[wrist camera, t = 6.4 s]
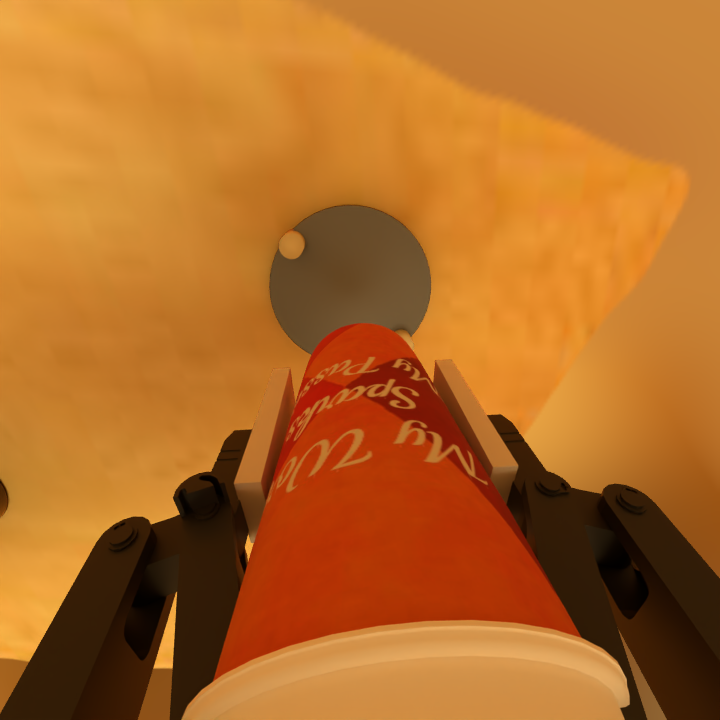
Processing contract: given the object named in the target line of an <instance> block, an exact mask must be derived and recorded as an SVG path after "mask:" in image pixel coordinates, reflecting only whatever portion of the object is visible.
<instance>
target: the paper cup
mask: <svg viewBox="0 0 720 720" xmlns="http://www.w3.org/2000/svg"><path fill="white" fill-rule="evenodd" d="M628 705H630V696H629V691H628V688H627V679H626V677H625V675H624V673H623V671H622V669H621V667H620V666H619V664H618V662H617V661H616V660H615V659H614V658H613V657H612V656H611V655H609V654H608V653H607V652H606V651H605V650H604V649H602V648H600V647H598V646H596V645H594V644H592V643H590V642H588V641H587V640H585V639H583V638H582V637H581V636H580V634H579V632H578V630H577V629H576V627H575V625H574V623H573V622H572V620H571V618H570V616H569V614H568V613H567V611H566V609H565V607H564V606H563V604H562V602H561V600H560V599H559V597H558V595H557V593H556V591H555V590H554V588H553V586H552V584H551V583H550V581H549V579H548V577H547V575H546V574H545V572H544V570H543V568H542V567H541V565H540V563H539V561H538V560H537V558H536V556H535V554H534V552H533V551H532V549H531V547H530V545H529V544H528V542H527V540H526V538H525V537H524V535H523V533H522V531H521V529H520V528H519V526H518V524H517V522H516V521H515V519H514V517H513V515H512V514H511V512H510V510H509V508H508V507H507V505H506V503H505V502H504V500H503V498H502V497H501V495H500V494H499V492H498V490H497V489H496V487H495V486H494V484H493V482H492V481H491V479H490V477H489V476H488V474H487V473H486V471H485V469H484V468H483V466H482V464H481V463H480V461H479V460H478V458H477V456H476V455H475V453H474V452H473V450H472V448H471V447H470V445H469V443H468V442H467V440H466V439H465V437H464V435H463V434H462V432H461V430H460V429H459V427H458V425H457V424H456V422H455V420H454V419H453V417H452V415H451V413H450V412H449V410H448V408H447V407H446V405H445V403H444V402H443V400H442V398H441V396H440V395H439V393H438V391H437V390H436V388H435V386H434V385H433V383H432V381H431V380H430V378H429V376H428V374H427V373H426V371H425V369H424V368H423V366H422V364H421V363H420V361H419V360H418V358H417V357H416V355H415V353H414V352H413V350H412V349H411V348H410V346H409V345H408V344H407V342H406V341H405V340H404V339H403V338H402V337H401V336H400V335H398V334H397V333H396V332H394V331H392V330H390V329H389V328H386V327H384V326H381V325H377V324H371V323H357V324H351V325H347V326H344V327H341V328H339V329H337V330H335V331H333V332H331V333H330V334H328V335H327V336H326V337H325V338H324V339H323V340H322V341H321V342H320V343H319V344H318V345H317V347H316V348H315V350H314V351H313V353H312V355H311V358H310V360H309V362H308V365H307V368H306V371H305V374H304V377H303V380H302V383H301V387H300V390H299V393H298V396H297V400H296V403H295V406H294V409H293V413H292V416H291V420H290V423H289V426H288V430H287V433H286V436H285V440H284V443H283V446H282V450H281V453H280V456H279V460H278V463H277V466H276V470H275V473H274V477H273V480H272V483H271V487H270V490H269V494H268V497H267V500H266V504H265V507H264V511H263V514H262V517H261V521H260V524H259V528H258V531H257V534H256V538H255V541H254V544H253V548H252V551H251V555H250V558H249V561H248V565H247V568H246V572H245V575H244V578H243V582H242V585H241V588H240V592H239V595H238V599H237V602H236V605H235V609H234V612H233V616H232V619H231V622H230V626H229V629H228V632H227V636H226V639H225V643H224V646H223V649H222V653H221V656H220V659H219V663H218V666H217V670H216V673H215V676H214V680H213V682H212V683H211V684H209V685H208V686H207V687H205V688H204V689H202V690H201V691H200V692H199V693H198V695H197V696H196V697H195V698H194V699H193V700H192V701H191V702H190V703H189V705H188V706H187V708H186V710H185V712H184V715H183V717H182V719H181V720H625V719H624V717H623V714H622V712H621V709H620V708H622V707H626V706H628Z"/></svg>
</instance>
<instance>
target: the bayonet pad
mask: <svg viewBox="0 0 720 720" xmlns="http://www.w3.org/2000/svg"><path fill="white" fill-rule="evenodd" d="M269 288H270V298H271V302H272V307H273V310H274V313H275V315H276V318H277V320H278V321H279V323H280V325H281V327H282V328H283V330H284V331H285V333H286V334H287V335H288V336H289V337H290V338H291V340H292V341H293V342H294V343H296V344H297V345H298V346H299V347H300V348H302V349H303V350H305V351H306V352H308V353H309V354H311V355H312V353H313V351H314V350H315V348H316V347H317V345H318V344H319V343H320V342H321V341H322V340H323V339H324V338H325V337H326V336H327V335H328V334H330V333H331V332H333V331H335V330H337V329H339V328H341V327H344V326H347V325H351V324H357V323H371V324H377V325H381V326H384V327H386V328H389V329H390V330H392V331H394V332H396V333H397V334H398V335H400V336H401V337H402V338H403V339H404V340H405V341H406V342H407V344H408V345H409V346H410V348H411V349H412V350H414V343H413V341H412V339H411V336H412V335H413V334H414V333H415V331H416V330H417V329H418V327H419V325H420V324H421V322H422V320H423V318H424V316H425V313H426V311H427V308H428V304H429V300H430V293H431V277H430V269H429V266H428V262H427V259H426V256H425V254H424V251H423V249H422V248H421V246H420V244H419V243H418V241H417V239H416V238H415V237H414V236H413V234H412V233H411V232H410V231H409V230H408V229H407V228H406V227H405V226H404V225H403V224H401V223H400V222H399V221H397V220H396V219H394V218H393V217H391V216H389V215H387V214H386V213H384V212H382V211H379V210H376V209H373V208H370V207H364V206H357V205H344V206H335V207H332V208H328V209H324V210H322V211H319V212H317V213H314V214H313V215H311V216H309V217H308V218H306V219H304V220H303V221H302V222H301V223H299V224H298V225H297V226H296V227H295V228H294V229H292V230H289V231H288V232H287V233H286V234H285V235H284V236H283V237H282V238H281V239H280V241H279V249H278V251H277V253H276V255H275V258H274V261H273V264H272V268H271V273H270V286H269Z"/></svg>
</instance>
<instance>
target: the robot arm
mask: <svg viewBox="0 0 720 720" xmlns="http://www.w3.org/2000/svg"><path fill="white" fill-rule="evenodd" d="M433 385H434V386H435V388H436V390H437V391H438V393H439V395H440V396H441V398H442V400H443V402H444V403H445V405H446V407H447V408H448V410H449V412H450V413H451V415H452V417H453V419H454V420H455V422H456V424H457V425H458V427H459V429H460V430H461V432H462V434H463V435H464V437H465V439H466V440H467V442H468V443H469V445H470V447H471V448H472V450H473V452H474V453H475V455H476V456H477V458H478V460H479V461H480V463H481V464H482V466H483V468H484V469H485V471H486V473H487V474H488V476H489V477H490V479H491V481H492V482H493V484H494V486H495V487H496V489H497V490H498V492H499V494H500V495H501V497H502V498H503V500H504V502H505V503H506V505H507V507H508V508H509V510H510V512H511V514H512V515H513V517H514V519H515V521H516V522H517V524H518V526H519V528H520V529H521V531H522V533H523V535H524V537H525V538H526V540H527V542H528V544H529V545H530V547H531V549H532V551H533V552H534V554H535V556H536V558H537V560H538V561H539V563H540V565H541V567H542V568H543V570H544V572H545V574H546V575H547V577H548V579H549V581H550V583H551V584H552V586H553V588H554V590H555V591H556V593H557V595H558V597H559V599H560V600H561V602H562V604H563V606H564V607H565V609H566V611H567V613H568V614H569V616H570V618H571V620H572V622H573V623H574V625H575V627H576V629H577V630H578V632H579V634H580V636H581V637H582V638H583V639H585V640H587V641H588V642H590V643H592V644H594V645H596V646H598V647H600V648H602V649H604V650H605V651H606V652H607V653H608V654H609V655H611V656H612V657H613V658H614V659H615V660H616V661H617V662H618V664H619V666H620V667H621V669H622V671H623V673H624V675H625V677H626V679H627V688H628V691H629V696H630V705H628V706H626V707H622V708H620V709H621V712H622V714H623V717H624V719H625V720H647V718H646V714H645V711H644V708H643V705H642V702H641V699H640V696H639V693H638V689H637V686H636V683H635V680H634V677H633V674H632V671H631V668H630V665H629V662H628V658H627V655H626V652H625V649H624V646H623V643H622V640H621V637H620V634H619V631H620V633H621V634H622V636H623V638H624V640H625V642H626V644H627V646H628V648H629V649H630V651H631V653H632V655H633V657H634V659H635V660H636V662H637V664H638V666H639V668H640V670H641V672H642V674H643V675H644V677H645V679H646V681H647V683H648V685H649V687H650V689H651V690H652V692H653V694H654V696H655V698H656V700H657V702H658V704H659V705H660V707H661V709H662V711H663V713H664V714H665V717H666V718H667V720H720V578H719V577H718V576H717V575H716V574H715V572H714V571H713V570H712V569H711V568H710V567H709V566H708V564H707V563H706V562H705V561H704V560H703V559H702V557H701V556H700V555H699V554H698V553H697V551H696V550H695V549H694V548H693V547H692V546H691V544H690V543H689V542H688V541H687V540H686V539H685V537H683V535H682V534H681V533H680V532H679V531H678V529H677V528H676V527H675V526H674V525H673V523H672V522H671V521H670V520H669V519H668V518H667V517H666V515H665V514H664V513H663V512H662V511H661V509H660V508H659V507H658V506H657V505H656V504H655V503H654V502H653V501H652V500H651V499H650V498H649V497H648V496H647V495H645V494H644V493H642V492H640V491H638V490H637V489H634V488H632V487H629V486H627V485H621V484H611V485H608V486H607V487H605V488H604V489H603V491H602V494H599V493H594V492H588V491H583V490H578V489H575V488H571V486H570V485H569V484H568V483H567V482H566V481H565V480H564V479H563V478H561V477H560V476H558V475H556V474H554V473H551V472H548V471H546V469H545V468H544V467H543V465H542V464H541V462H540V461H539V460H538V458H537V457H536V455H535V454H534V453H533V451H532V450H531V448H530V447H529V446H528V444H527V443H526V442H525V441H524V439H523V437H522V436H521V434H519V432H518V430H517V429H516V427H515V426H514V425H513V423H512V422H511V421H509V420H508V419H506V418H505V417H504V416H502V415H501V414H500V415H486V413H485V412H484V410H483V409H482V407H481V405H480V404H479V402H478V401H477V399H476V397H475V396H474V394H473V393H472V391H471V389H470V388H469V386H468V385H467V383H466V382H465V380H464V378H463V377H462V375H461V374H460V372H459V370H458V369H457V367H456V366H455V364H454V363H453V361H452V359H450V360H435V371H434V381H433ZM294 406H295V398H294V391H293V384H292V377H291V370H290V368H273V371H272V374H271V377H270V380H269V383H268V386H267V388H266V391H265V394H264V397H263V400H262V403H261V406H260V409H259V412H258V415H257V418H256V420H255V423H254V426H253V429H252V430H235V431H234V432H233V433H232V434H231V435H230V436H229V437H228V438H227V439H226V440H225V441H224V444H223V446H222V448H221V452H220V453H219V455H218V458H217V462H215V464H214V467H213V469H212V471H211V472H204V473H199V474H196V475H194V476H192V477H190V478H188V479H187V480H185V481H184V482H183V483H181V485H180V486H179V487H178V488H177V489H176V491H175V494H174V497H173V499H174V502H175V504H176V506H177V508H178V511H179V513H180V515H177V516H175V517H173V518H170V519H167V520H164V521H161V522H158V523H155V524H152V525H151V524H150V522H149V520H148V519H146V518H144V517H131V518H127V519H124V520H122V521H120V522H118V523H116V524H114V525H113V526H111V527H110V528H109V529H108V530H107V531H105V532H104V533H103V534H102V536H101V537H100V538H99V540H98V541H97V542H96V544H95V546H94V548H93V549H92V551H91V553H90V555H89V557H88V558H87V560H86V562H85V564H84V565H83V567H82V569H81V571H80V573H79V574H78V576H77V578H76V580H75V582H74V583H73V585H72V587H71V589H70V590H69V592H68V594H67V596H66V598H65V599H64V601H63V603H62V605H61V606H60V608H59V610H58V612H57V614H56V615H55V617H54V619H53V621H52V622H51V624H50V626H49V628H48V630H47V631H46V633H45V635H44V637H43V639H42V640H41V642H40V644H39V646H38V647H37V649H36V651H35V653H34V655H33V656H32V658H31V660H30V662H29V663H28V665H27V667H26V669H25V671H24V672H23V674H22V676H21V678H20V680H19V681H18V683H17V685H16V687H15V688H14V690H13V692H12V694H11V696H10V697H9V699H8V701H7V703H6V704H5V706H4V708H3V710H2V712H1V714H0V720H138V717H139V714H140V710H141V707H142V704H143V700H144V697H145V694H146V690H147V687H148V684H149V680H150V677H151V674H152V670H153V667H154V664H155V660H156V657H157V654H158V650H159V647H160V644H161V640H162V637H163V634H164V630H165V627H166V624H167V620H168V617H169V614H170V610H171V607H172V604H173V600H174V597H175V594H176V592H177V604H176V622H175V639H174V656H173V674H172V690H171V691H172V692H171V707H170V720H181V719H182V717H183V715H184V712H185V710H186V708H187V706H188V705H189V703H190V702H191V701H192V700H193V699H194V698H195V697H196V696H197V695H198V693H199V692H200V691H201V690H202V689H204V688H205V687H207V686H208V685H209V684H211V683H212V682H213V680H214V676H215V673H216V670H217V666H218V663H219V659H220V656H221V653H222V649H223V646H224V643H225V639H226V636H227V632H228V629H229V626H230V622H231V619H232V616H233V612H234V609H235V605H236V602H237V599H238V595H239V592H240V588H241V585H242V582H243V578H244V575H245V572H246V568H247V565H248V559H247V553H246V550H245V544H246V540H247V536H248V534H249V537H250V541H251V543H254V541H255V538H256V534H257V531H258V528H259V524H260V521H261V517H262V514H263V511H264V507H265V504H266V500H267V497H268V494H269V490H270V487H271V483H272V480H273V477H274V473H275V470H276V466H277V463H278V460H279V456H280V453H281V450H282V446H283V443H284V440H285V436H286V433H287V430H288V426H289V423H290V420H291V416H292V413H293V409H294ZM6 508H7V495H6V492H5V490H4V488H3V486H2V485H1V483H0V517H1V516H2V515H3V514H4V513H5V511H6ZM617 627H618V628H617ZM618 629H619V631H618Z"/></svg>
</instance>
